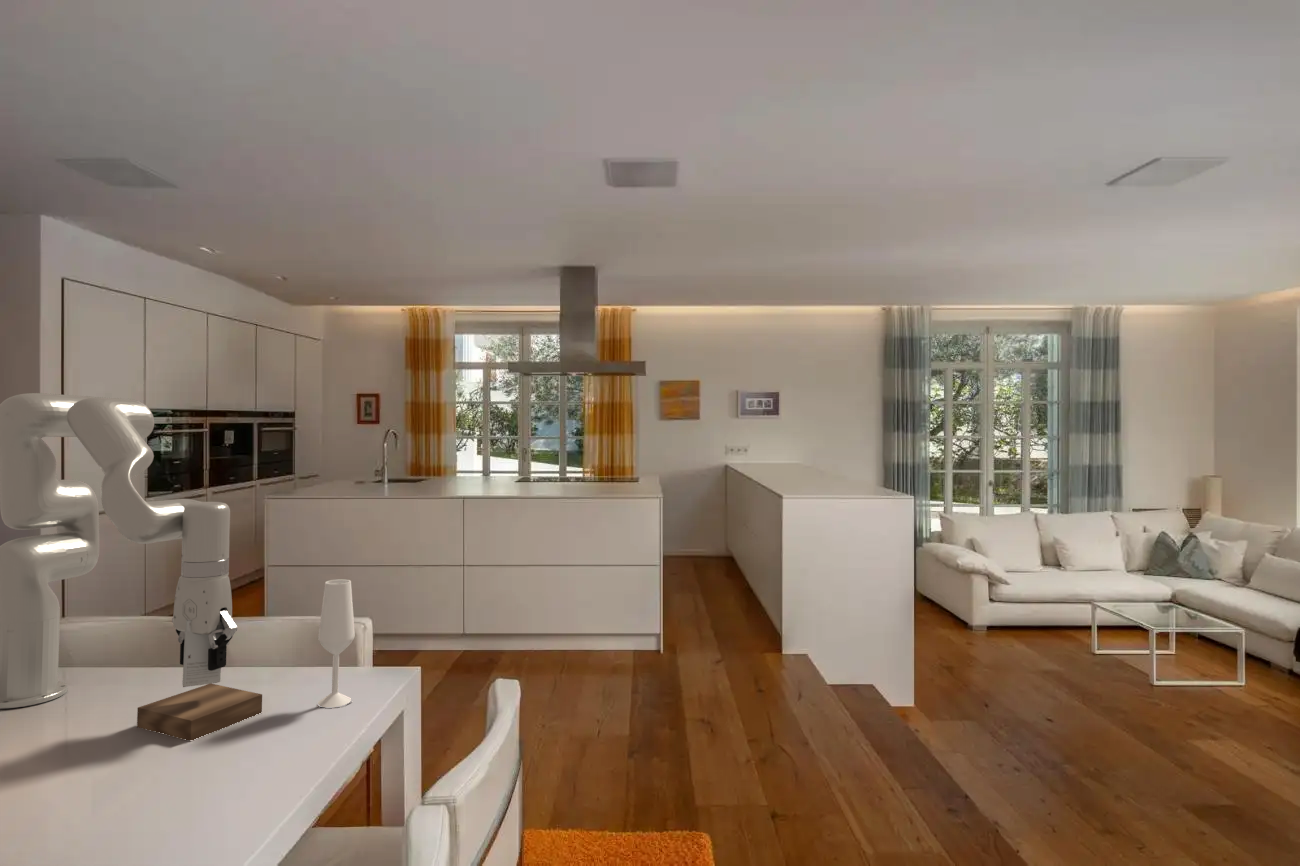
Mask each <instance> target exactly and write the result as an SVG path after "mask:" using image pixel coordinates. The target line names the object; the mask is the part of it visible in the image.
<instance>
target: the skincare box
mask: <svg viewBox="0 0 1300 866" xmlns="http://www.w3.org/2000/svg"><path fill="white" fill-rule="evenodd" d="M218 629H220V626H219V627H217V628H216V630H218ZM215 635H216V639H218V638H219V636H220V634H219V633H218V634H215ZM210 648H211V644H210V641H209V638H208V635H201V634H195V633H192V632H191V620H186V632H185V642H184V663H183V665H182V666H183V667H182V668H183V669H182V688H187V687H194V686H204V685H207V684H218V683H220V682H221V674H222V668H219V669H216V670H212V671H210V670H208V649H210Z"/></svg>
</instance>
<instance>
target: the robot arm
mask: <svg viewBox="0 0 1300 866" xmlns="http://www.w3.org/2000/svg"><path fill="white" fill-rule="evenodd" d="M154 427H155V418H154V414H153V413H152V411H151V409H150V408H149V406H148V405H146V404H145V403H143V402H141V401H139V400H137V399H131V398H118V397H117V398H116V397H103V396H102V397H101V396H100V397H99V396H88V395H73V394H72V395H71V394H57V393H43V392H41V393H40V392H34V393H33V392H30V393H21V394H15V395H13V396H9V397H8V398H6V399H4V400H3V401H2V402H1V403H0V516H1V520H2V522H3V524H4V525H5V526H7V527H8V528H10V529H13V530H19V531H21V530H22V531H25V530H26V531H28V530H38V529H47V528H56V533H49V534H47V533H46V534H38V535H31V536H24V537H19V538H15V539H12V540H8V541H6V542H4V543H3V544H1V545H0V709H1V710H2V709H3V710H4V709H5V710H6V709H16V708H23V707H29V706H34V705H39V704H43V703H46V702H50V701H53V700H56V699H57V698H59V697H61V696H63V695H65V694H66V693H67V692H68V687H69V686H68V684H67V683H66V682H63V681H59V655H60V627H61V626H60V623H61V622H60V621H61V620H60V619H61V608H60V607H61V605H60V601H59V598H58V597H57V595H56V593H55V592H54V591H53V589H52V588H51V587H50V585H49V583H52V582H56V581H57V582H58V581H62V580H68V579H72V578H77V577H81V576H84V575H87V574H88V573H90V572H91V571H92V570H94V568H95V567H96V566H97V563H98V561H99V556H100V517H99V516H100V515H99V514H100V512H99V501H98V497H97V495H96V493H95V491H94V489H93V488H92V487H91V485H89V484H88V483H86V482H85V481H82V480H80V479H58V477H57V476H58V475H57V461H56V457H55V454H54V453H53V451H52V449H51V448H50V446H49V445H48V444H47V443H46V442H45V441H44V440H43V439H42V438H45V437H46V438H49V437H50V438H51V437H53V438H55V437H56V438H77V439H78V440H79V442H80V443H81V444H82V446H83V447H84V449H86V451H87V453H88V454H89V456H91V458H92V459H93V461H94V462H95V463H96V465H98V467H99V469H100V470H101V471H102V472H103V474H104V476H103V479H102V482H101V487H100V500H101V501H100V502H101V506H102V508H103V511H104V513H105V515H106V516H107V517H108V519H109V520H110V521H111V523H112V524H113V526H114V527H115V528H116V530H118V531H117V532H119V533H120V534H121V535H122V536H123V537H124V538H125V539H126V540H128V541H129V542H132V543H135V544H138V545H146V544H153V543H158V542H159V543H160V542H166V541H173V540H181V564H180V566H181V569H180V576H179V578H178V581H177V585H176V590H175V596H174V603H173V615H172V618H171V622H172V626H173V627H174V629H175V632H176V634H177V635H178V638H177V641H178V643H180V645H179V664H180V666H183V663H184V642H185V632H186V620H191V632H192V633H195V634H201V635H208V638H209V641H210V644H211V648H210V649H208V670H210V671H212V670H216V669H219V668H221V669H222V668H224V667H226V666H227V650H228V649H227V647H228V646H229V645H230V641H231V640H232V639H233V636H234V635H235V634H236V632H237V631H238V626H237V624H236V623H235V622H234V620H233V599H232V598H233V597H232V588H231V581H230V576H229V575H230V572H229V571H230V531H231V509H230V506H229V505H228V504H227V503H225V502H221V501H200V500H196V499H192V498H176V499H164V500H153V501H152V500H151V501H146V500H145V499H143V497H142V496H141V494H139V492H138V491H137V489H136V487H135V486H134V484H133V483H132V480H133V478H135V477H138V476H139V475H140V474H142V473H143V472H145V470H147V469H148V468H149V467H150V466H151V464H152V463H153V461H154V457H155V455H154V451H153V450H152V448H151V447H150V446H149V444H147V442H146V441H145V438H147V437H149V436H150V435H151V434H152V432H153V430H154ZM131 479H132V480H131ZM219 626H220V629H218V630H216V628H217V627H219ZM218 633H219V634H220V636H219V638H218V639H216V635H215V634H218Z"/></svg>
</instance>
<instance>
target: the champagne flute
mask: <svg viewBox="0 0 1300 866" xmlns="http://www.w3.org/2000/svg"><path fill="white" fill-rule="evenodd" d="M322 597H323V598H322V603H321V604H322V605H321V612H320V619H319V620H320V622H319V629H318V636H317V639H318V642H319V643H320V645H321V646H322V648H323V649H324V650H326V651H327V652H328V653H330V654H331V655H332V673H331V677H332V678H331V693H330V694H328V695H326V696H325V697H323V698H321V699H320V700H318V701H317V702H318V704H319V705H320V706H322V707H336V706H342V705H345V704H347V703H349V702H350V701H351V697H349V696H347V695H345V694H343V693H342V692H339V683H340V682H339V680H340V676H339V674H340V673H339V672H340V654H341V653H342V652H344V651H345V650H346V649H347V648H348V647H349V646H350V645H351V644H352V643H353V641H354V639H355V637H356V636H355V635H356V634H355V621H354V620H355V618H354V607H353V606H354V605H353V590H352V580H350V579H344V578H343V579H341V578H340V579H330V580H327V581H325V583H324V588H323V596H322Z"/></svg>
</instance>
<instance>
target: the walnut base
mask: <svg viewBox="0 0 1300 866" xmlns="http://www.w3.org/2000/svg"><path fill="white" fill-rule="evenodd" d="M262 710H263V694H262V693H257V692H253V691H248V690H243V689H238V688H234V687H230V686H224V685H220V684H217V683H212V684H204V685H200V686H199V687H196V688H193V689H189V690H186V691H184V692H180V693H177V694H175V695H171V696H168V697H165V698H162V699H160V700H156V701H154V702H153V701H152V702H150V703H147V704H144V705H141V706H139V707H137V714H136V716H137V717H136V728H138V727H139V729H141V728H143V729H142V730H145V729H147V730H146V731H149V730H151V731H150V732H153V731H156V732H155V733H157V732H160V733H164V734H167V735H166V736H168V735H170V736H169V737H172V736H174V737H173V738H176V737H178V738H177V739H180V738H182V739H181V740H183V739H186V740H185V741H187V740H193V741H195V740H194V739H196V738H198V739H200V738H199V737H201V736H203V737H205V736H204V735H206V734H208V735H210V734H209V733H211V734H213V733H215V732H214V731H216V732H218V731H221V730H223V729H226V728H228V727H231V726H233V725H236V724H238V723H241V722H243V721H245V720H244V719H246V720H248V719H250V718H249V717H251V718H253V717H256V716H257V715H256V714H258V715H260V714H259V713H261V712H263V711H262ZM261 714H262V713H261ZM255 715H256V716H255ZM252 716H253V717H252ZM247 718H248V719H247ZM242 720H243V721H242ZM240 721H241V722H240ZM237 722H238V723H237ZM235 723H236V724H235ZM232 724H233V725H232ZM230 725H231V726H230ZM225 727H226V728H225ZM222 728H223V729H222ZM220 729H221V730H220ZM217 730H218V731H217ZM212 732H213V733H212ZM160 733H159V734H160ZM164 734H163V735H164ZM206 736H207V735H206ZM201 738H202V737H201ZM196 740H197V739H196Z"/></svg>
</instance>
